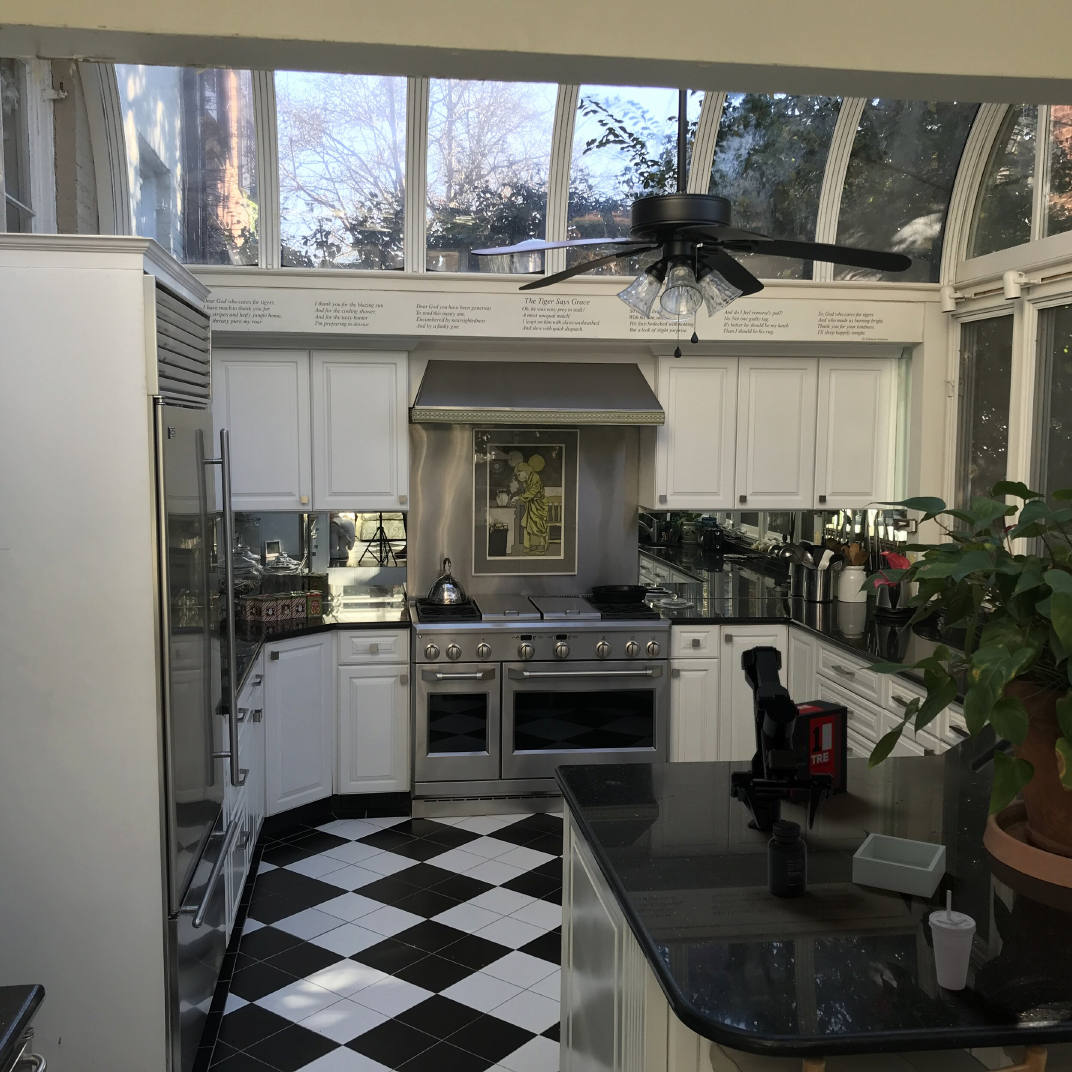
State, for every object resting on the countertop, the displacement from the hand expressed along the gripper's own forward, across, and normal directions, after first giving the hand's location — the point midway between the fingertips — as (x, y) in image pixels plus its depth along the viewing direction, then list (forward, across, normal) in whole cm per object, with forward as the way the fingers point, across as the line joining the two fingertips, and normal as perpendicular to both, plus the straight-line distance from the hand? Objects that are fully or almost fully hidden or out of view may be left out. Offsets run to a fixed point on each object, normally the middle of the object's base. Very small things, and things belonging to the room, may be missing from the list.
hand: (785, 828), depth 185 cm
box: (+4, +21, +10) cm, 24 cm away
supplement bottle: (+10, 0, +5) cm, 11 cm away
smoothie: (+32, +20, -17) cm, 41 cm away
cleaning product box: (-30, +11, +44) cm, 54 cm away
